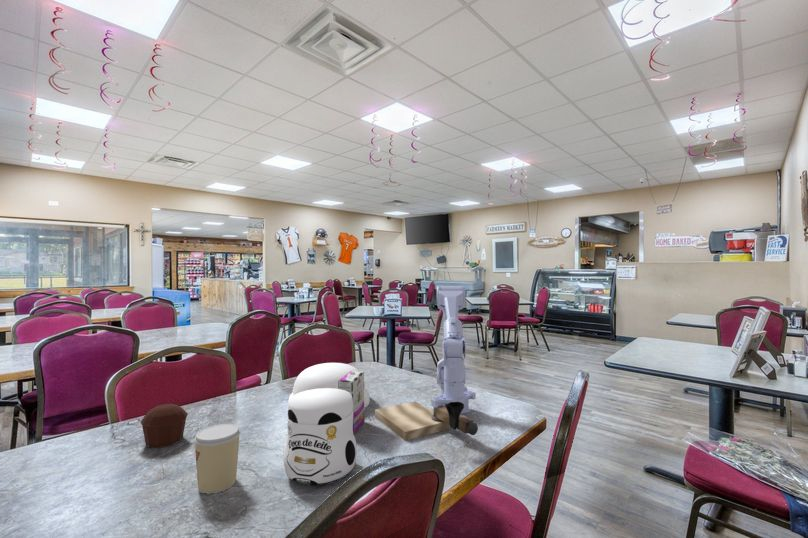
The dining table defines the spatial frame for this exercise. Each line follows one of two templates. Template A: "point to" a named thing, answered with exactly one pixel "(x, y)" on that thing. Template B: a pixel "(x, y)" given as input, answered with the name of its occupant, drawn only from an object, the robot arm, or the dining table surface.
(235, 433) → the coffee cup
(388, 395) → the dining table surface
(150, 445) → the muffin
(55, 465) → the dining table surface
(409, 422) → the stool seat
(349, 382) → the candy bar box
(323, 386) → the dome cover
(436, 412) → the stool leg
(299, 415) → the doce de leite jar
